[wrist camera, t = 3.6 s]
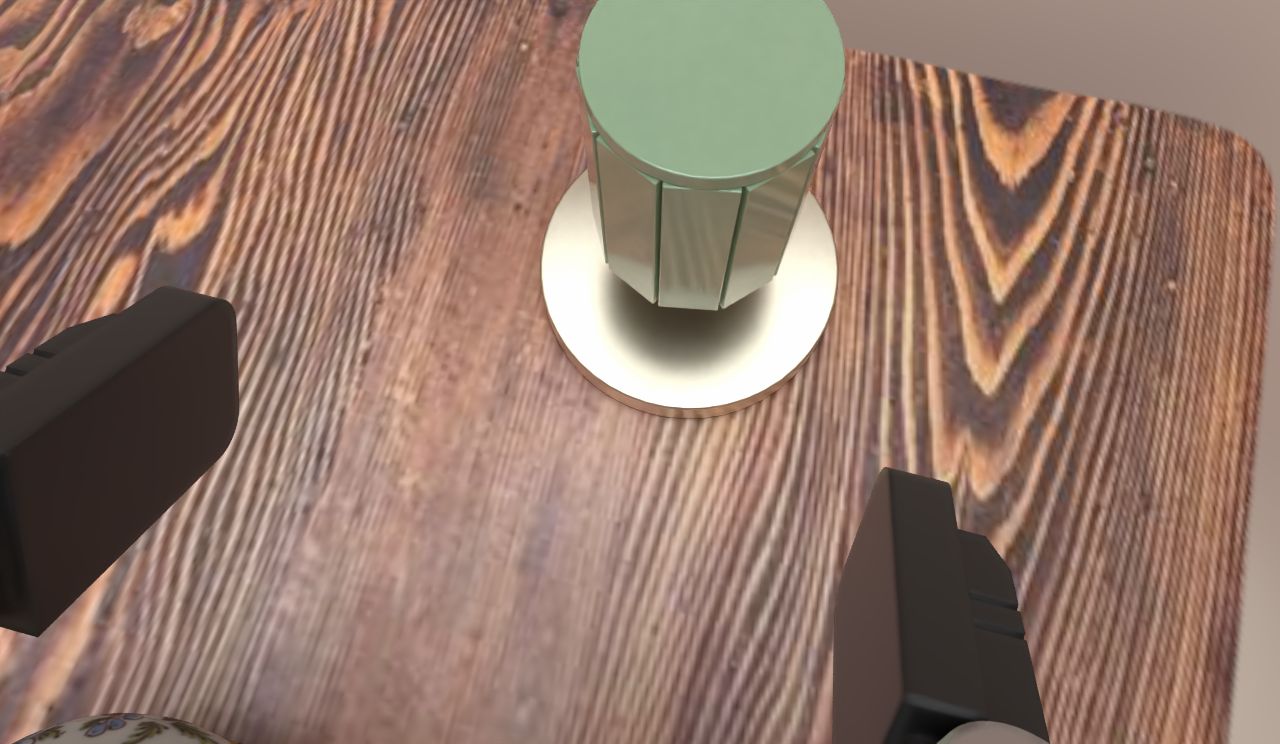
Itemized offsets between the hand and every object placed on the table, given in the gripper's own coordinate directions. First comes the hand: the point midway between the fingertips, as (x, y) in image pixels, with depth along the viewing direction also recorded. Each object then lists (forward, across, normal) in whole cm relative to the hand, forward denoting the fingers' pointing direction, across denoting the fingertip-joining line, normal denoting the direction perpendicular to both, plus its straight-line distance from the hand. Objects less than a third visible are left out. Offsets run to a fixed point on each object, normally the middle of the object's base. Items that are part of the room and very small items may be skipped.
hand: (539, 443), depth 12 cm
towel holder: (+25, 0, +8) cm, 26 cm away
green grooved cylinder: (+21, 0, +4) cm, 21 cm away
